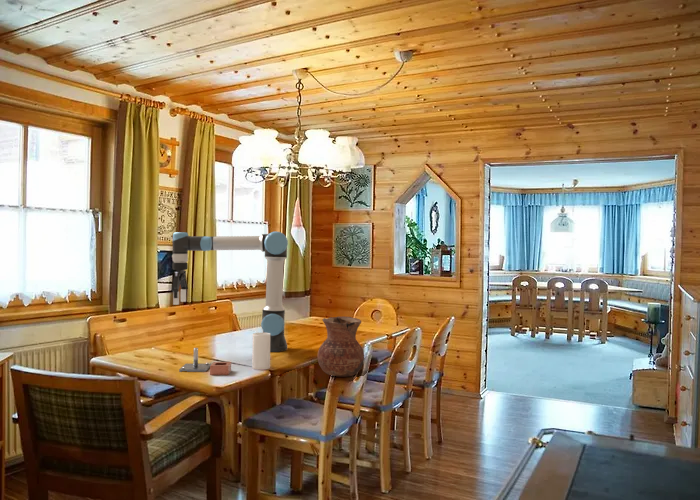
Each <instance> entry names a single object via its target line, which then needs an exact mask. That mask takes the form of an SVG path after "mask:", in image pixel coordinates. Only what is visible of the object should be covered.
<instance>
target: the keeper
mask: <svg viewBox="0 0 700 500" xmlns="http://www.w3.org/2000/svg"><path fill="white" fill-rule="evenodd" d="M192 362H193V363H184V365H182V366H181V367H180V368H179V369H178V370H179V373H180V372H181V373H182V371H187V372H189V373H191V372H193V373H196V372H197V373H200V372H203V373H204V372H207V371H208V370H210V366H211V364H212V363H209V362H206V363H199V347H193V361H192ZM187 372H186V373H187Z"/></svg>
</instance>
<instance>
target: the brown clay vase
mask: <svg viewBox="0 0 700 500" xmlns="http://www.w3.org/2000/svg"><path fill="white" fill-rule="evenodd" d="M322 322H323V323H324V326H325V328H326V333H327V335H326V336H327V337H326V339H325V340H324V341H323V342H322V344H321V345H320V347H319V348H318V351H317V362H318V365H319V367H320V368H321V370H322V371H323V372H324V373H325V374H326V375H329V376H332V375H333V376H332V377H335V376H336V377H340V378H346V377H348V378H349V377H353V376H355V375H357V374H358V372H359V371H360V370H361V369H362V367H363V364H364V360H365V352H364V349H363V347H362V345H361V344H360V343H359V340H357V337H356V334H357V331H358V329H359V327H360V325H361V324H362V320H361V319H360V318H357V317H351V316H336V317H335V316H334V317H328V318H327V317H325V318H323V319H322Z"/></svg>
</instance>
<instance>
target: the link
mask: <svg viewBox="0 0 700 500" xmlns="http://www.w3.org/2000/svg"><path fill="white" fill-rule="evenodd" d="M210 364H211V366H210V368H209V375H210V376H229V374H230V373H231V372H232V361H213V362H212V363H210Z"/></svg>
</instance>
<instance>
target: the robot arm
mask: <svg viewBox="0 0 700 500" xmlns="http://www.w3.org/2000/svg"><path fill="white" fill-rule="evenodd" d="M288 241H289V240H288V238H287V236H286V235H285V234H284V233H283V232H281V231H272V232H270V233H261V235H242V236H241V235H240V236H239V235H237V236H236V235H234V236H233V235H231V236H229V235H228V236H205V235H204V236H201V235H200V236H199V235H198V236H196V235H195V236H193V235H189V233H188V232H183V231H182V232H180V231H179V232H178V231H177V232H176V231H175V232H173V234H172V255H171V258H172V265H171V266H172V270H174V272H173V279H172V285H171V286H172V287H171V292H172V298H173V299H172V300H173V301H172V304H173V306H174V305H175V306H176V305H180V302H182V303H186V302H187V290H188V289H189V287H188V280H187V270H188V268H189V267H188V261H189V257H188V255H189V253H188V251H189V252H190V251H192V252H193V251H196V252H198V251H199V252H211V251H261V252H263V253H264V258H265V259H266V260H267V262H266V263H267V266H266V285H265V287H266V288H265V305H264V307H263V308H262V312H261V314H262V315H261V323H260V326H261V330H262V333H270V353H275V352H277V353H279V352H284V351H287V350H288V343H287V339H286V336H285V317H286V316H285V314H286V309H285V308H284V306H283V290H284V289H283V288H284V265H285V261H286V259H287V258H288V244H289V242H288ZM179 290H180V291H179Z"/></svg>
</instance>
